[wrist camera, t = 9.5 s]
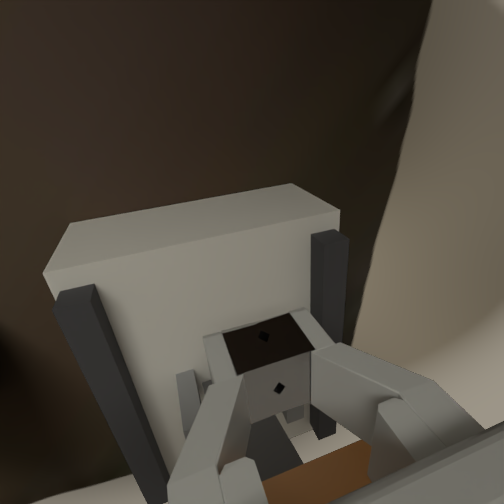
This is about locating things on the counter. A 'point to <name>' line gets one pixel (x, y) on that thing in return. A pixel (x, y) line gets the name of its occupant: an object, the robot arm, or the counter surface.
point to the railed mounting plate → (119, 379)
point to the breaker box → (193, 288)
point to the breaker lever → (303, 466)
